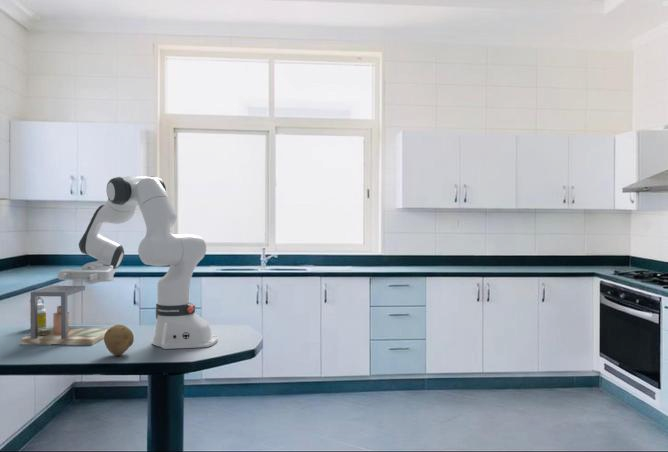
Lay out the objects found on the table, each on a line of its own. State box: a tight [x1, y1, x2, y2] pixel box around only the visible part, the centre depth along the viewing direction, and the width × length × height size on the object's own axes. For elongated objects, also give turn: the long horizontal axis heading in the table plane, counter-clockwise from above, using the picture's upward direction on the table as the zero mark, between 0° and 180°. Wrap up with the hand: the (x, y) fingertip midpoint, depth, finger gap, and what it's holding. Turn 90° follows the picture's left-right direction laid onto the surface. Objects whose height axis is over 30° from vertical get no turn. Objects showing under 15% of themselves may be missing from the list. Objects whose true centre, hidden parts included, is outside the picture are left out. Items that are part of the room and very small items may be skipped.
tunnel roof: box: [30, 285, 86, 339], centre depth 188 cm, size 12×15×16 cm
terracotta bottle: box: [52, 305, 70, 335], centre depth 188 cm, size 5×5×10 cm
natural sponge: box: [103, 324, 135, 357], centre depth 169 cm, size 9×9×10 cm
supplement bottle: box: [29, 302, 47, 331], centre depth 204 cm, size 5×5×10 cm
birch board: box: [20, 327, 109, 346], centre depth 188 cm, size 25×16×2 cm, turn 91°
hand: (76, 277), depth 200 cm, fingers open, 8 cm apart
